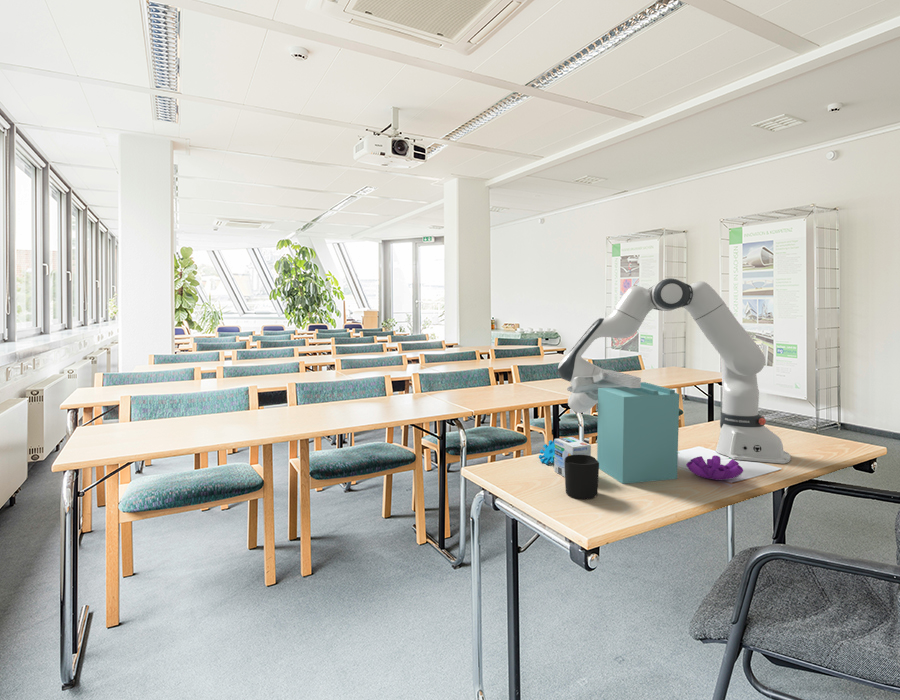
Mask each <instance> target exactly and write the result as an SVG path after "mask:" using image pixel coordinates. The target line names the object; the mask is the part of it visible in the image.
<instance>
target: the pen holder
mask: <svg viewBox="0 0 900 700" xmlns="http://www.w3.org/2000/svg"><path fill="white" fill-rule="evenodd" d="M564 464H565V477H564V483H565V493H566V495H567V496H569V497H570V498H573V499H578V500H591V499H592V500H593V499H595V498H596V497H597V496H598V490H599V472H600V471H599V470H600V469H599V462H598V461H597V458H595V457H594V456H589V455H569V456H567V457H566V458H565V460H564Z"/></svg>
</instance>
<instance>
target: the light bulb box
mask: <svg viewBox="0 0 900 700" xmlns="http://www.w3.org/2000/svg"><path fill="white" fill-rule="evenodd" d="M554 439H555V458H554V463H553V464H554V465H553V469H554V470H553V471H554V472H555V473H557V474H558V475H559V476H562V477H564V478H565V464H564V460H565V458H566V457H567V456H569V455H589V456H591V454H592V449H591V448H592V445H591V444H589V443H587V442H585V441H583V440H581V439H578V438H575V437H573V436H569V437H562V438H561V437H560V438H559V437H558V438H554Z"/></svg>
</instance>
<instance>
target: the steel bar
mask: <svg viewBox="0 0 900 700" xmlns="http://www.w3.org/2000/svg"><path fill="white" fill-rule="evenodd" d="M601 373H606V376H607V378H606V379H603V380H605V381H609V382H612V383H615V384H618V385H622V386H625V387H628V388H641V382H642V381H641V380H642V378H641V377H638V376H636V375H632V374H629V375H628V374H627V373H624V372H619V371H616V370H611V369H609V368H607V369H604V370H599V374H601Z"/></svg>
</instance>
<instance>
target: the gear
mask: <svg viewBox="0 0 900 700" xmlns="http://www.w3.org/2000/svg"><path fill="white" fill-rule="evenodd" d="M555 439H556V438H554V440H551V439H550V440H549V441H548V444H547V443H545V444H544V445H542V446H543V448H544V449H542V448H541V449H540V450H539V453H540V454H539V455H538V459H539V460H540V463H541V464H545V465H549V464H550V463H551V464H554V460H555Z"/></svg>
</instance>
